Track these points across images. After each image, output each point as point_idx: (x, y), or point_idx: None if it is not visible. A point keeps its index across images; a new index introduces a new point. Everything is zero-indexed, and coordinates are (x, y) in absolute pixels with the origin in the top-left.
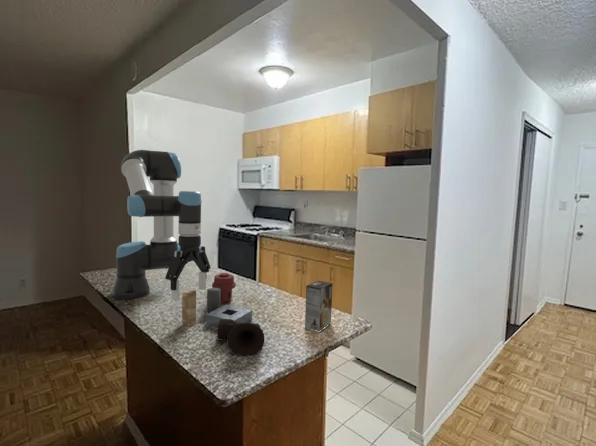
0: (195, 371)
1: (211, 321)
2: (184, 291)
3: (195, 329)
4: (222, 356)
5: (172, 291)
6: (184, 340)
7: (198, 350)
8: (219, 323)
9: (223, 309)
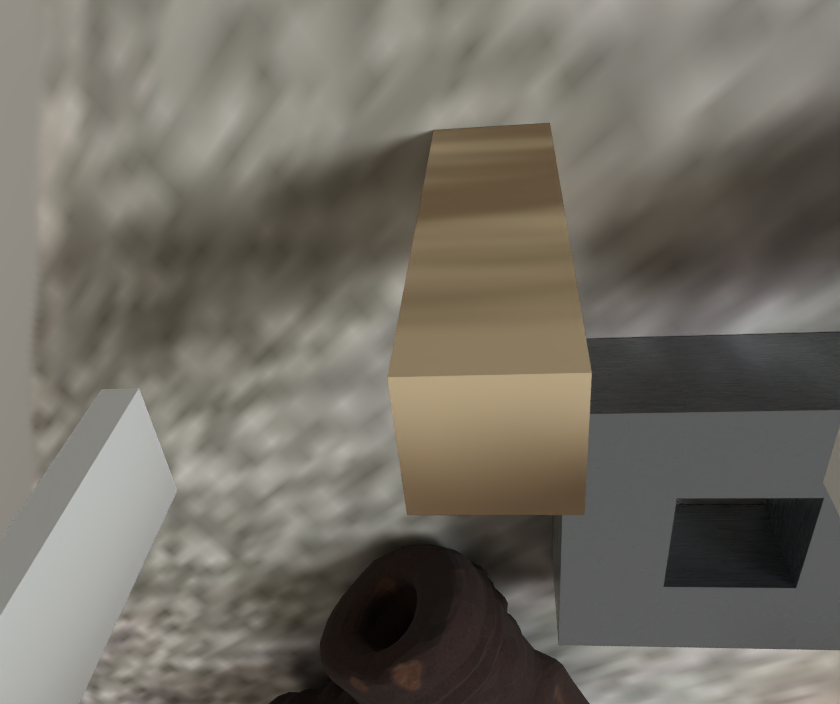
0: None
1: None
2: (440, 387)
3: None
4: (245, 648)
5: (47, 499)
6: (214, 391)
7: (193, 537)
8: (354, 683)
9: (792, 469)
